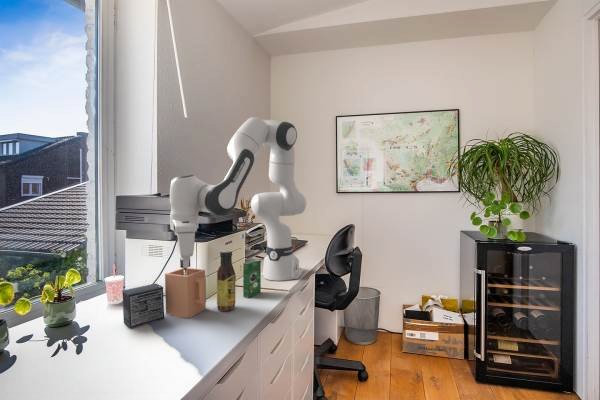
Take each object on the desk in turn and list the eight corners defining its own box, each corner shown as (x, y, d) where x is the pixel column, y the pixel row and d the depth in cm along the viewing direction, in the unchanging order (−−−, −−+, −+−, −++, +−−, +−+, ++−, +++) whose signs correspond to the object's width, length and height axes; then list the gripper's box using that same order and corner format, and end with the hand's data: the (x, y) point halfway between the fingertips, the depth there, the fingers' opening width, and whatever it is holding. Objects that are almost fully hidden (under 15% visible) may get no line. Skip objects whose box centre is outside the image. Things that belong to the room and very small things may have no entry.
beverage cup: (101, 304, 118) (100, 265, 118) (115, 298, 124) (114, 261, 124) (115, 306, 117) (114, 266, 116) (128, 300, 123) (127, 262, 122)
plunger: (185, 302, 116) (184, 254, 115) (200, 305, 114) (199, 256, 113) (171, 309, 110) (170, 259, 109) (187, 312, 108) (186, 260, 107)
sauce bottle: (231, 312, 111) (230, 253, 110) (213, 311, 112) (212, 253, 111) (238, 305, 117) (237, 249, 116) (222, 304, 118) (221, 249, 117)
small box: (157, 313, 110) (156, 282, 110) (165, 319, 106) (164, 286, 105) (122, 322, 103) (121, 289, 103) (129, 329, 98) (128, 294, 98)
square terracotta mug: (185, 304, 118) (184, 267, 117) (213, 309, 113) (212, 270, 112) (165, 314, 109) (164, 273, 109) (195, 320, 105) (194, 277, 104)
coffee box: (255, 291, 133) (255, 258, 132) (261, 292, 131) (261, 259, 131) (242, 297, 126) (242, 262, 125) (248, 298, 124) (248, 263, 124)
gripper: (173, 220, 119) (174, 259, 119) (175, 228, 100) (176, 273, 101) (191, 220, 121) (192, 257, 122) (197, 226, 102) (198, 271, 103)
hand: (185, 264), depth 111 cm, fingers open, 5 cm apart
